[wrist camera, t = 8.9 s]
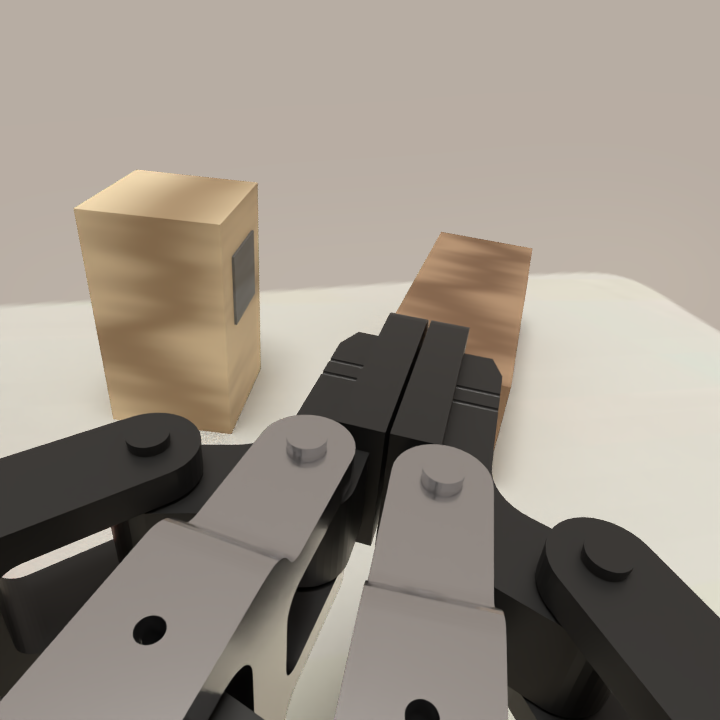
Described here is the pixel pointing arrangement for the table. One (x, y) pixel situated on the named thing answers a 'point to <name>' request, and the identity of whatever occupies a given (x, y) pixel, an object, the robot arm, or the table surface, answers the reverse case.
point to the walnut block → (475, 297)
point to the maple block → (175, 294)
